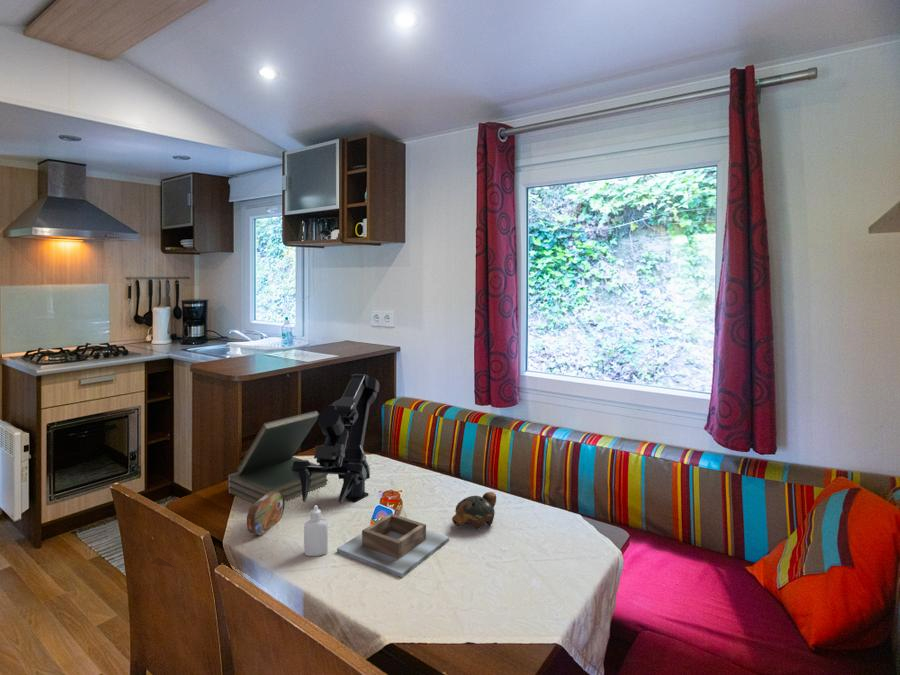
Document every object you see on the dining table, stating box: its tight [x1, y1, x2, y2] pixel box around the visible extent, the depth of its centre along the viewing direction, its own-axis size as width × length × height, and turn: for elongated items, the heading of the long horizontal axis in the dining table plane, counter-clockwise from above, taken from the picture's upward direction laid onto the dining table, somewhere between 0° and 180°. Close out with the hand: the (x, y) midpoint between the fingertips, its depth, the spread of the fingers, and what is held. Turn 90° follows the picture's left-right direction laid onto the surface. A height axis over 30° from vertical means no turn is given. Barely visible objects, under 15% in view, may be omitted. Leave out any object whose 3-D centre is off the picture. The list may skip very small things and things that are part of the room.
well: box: [336, 513, 450, 578], centre depth 130 cm, size 20×20×5 cm
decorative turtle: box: [451, 491, 497, 530], centre depth 143 cm, size 10×15×8 cm, turn 135°
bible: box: [227, 410, 329, 504], centre depth 164 cm, size 23×20×25 cm
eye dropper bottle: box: [303, 505, 329, 557], centre depth 126 cm, size 4×6×12 cm
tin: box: [246, 491, 286, 536], centre depth 139 cm, size 15×3×8 cm, turn 168°
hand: (321, 502), depth 130 cm, fingers open, 9 cm apart
